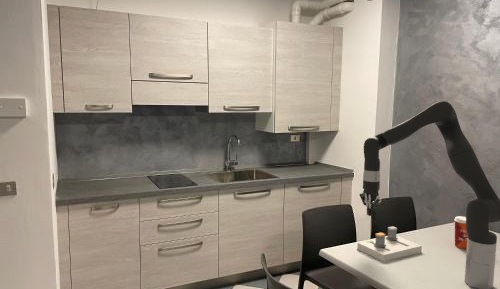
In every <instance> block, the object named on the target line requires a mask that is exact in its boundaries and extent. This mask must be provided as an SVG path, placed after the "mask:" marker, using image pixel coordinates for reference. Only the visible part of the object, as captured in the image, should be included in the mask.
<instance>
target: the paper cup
mask: <svg viewBox="0 0 500 289" xmlns="http://www.w3.org/2000/svg"><path fill="white" fill-rule="evenodd" d="M467 239H468V234H467V231H466V216H462V215H461V216H459V215H458V216H455V217H454V246H455V247H456V248H458V249H463V250H467Z"/></svg>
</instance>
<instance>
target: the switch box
mask: <svg viewBox="0 0 500 289" xmlns="http://www.w3.org/2000/svg"><path fill="white" fill-rule="evenodd" d="M386 237H388V235H386V236H385V245H386V246H384V247H380V248H379V247H376V246H374V244H375V243H376V238H372V239H368V240H364V241H358V242H357V250H359V251H361V252H363V253H366V254H367V255H369V256H371V257H373V258H375V259H377V260H379V261H381V262H387V261H392V260H395V259H396V260H397V259H399V258H404V257H408V256H412V255H415V254H419V253H422V251H423V250H422V248H423V246H422V245H421V244H417V243H416V242H413V241H412V240H411V241H410V240H408V239H406V238H403V237H401V236H397V235H396V237H397V238H398V239H396V240H392V241H391V240H388V239H386Z"/></svg>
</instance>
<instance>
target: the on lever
mask: <svg viewBox="0 0 500 289" xmlns="http://www.w3.org/2000/svg"><path fill="white" fill-rule="evenodd" d="M397 231H398V228H397V227H395V226H393V225H392V226H388V227H387V236H388V237H387V236H385V237H386V239H388V240H391V241H392V240H396V239H398V238H397V237H396V236H397Z"/></svg>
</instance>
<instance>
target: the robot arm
mask: <svg viewBox="0 0 500 289" xmlns="http://www.w3.org/2000/svg"><path fill="white" fill-rule="evenodd" d="M456 112H457V111H456V110H455V108H454V107H453V105H452V104H451V103H450V102H448V101H445V100H440V101H437V102H435V103H433V104H431V105H430V106H428V107H427V108H425V109H423V110H422V111H421V112H419V113H417V114H415V115H414V116H412V117H411V118H409V119H407V120H405V121H404V122H402V123H400V124H397V125H395V126H392V127H390V128H388V129H386V130H385V131H383V132H381V133H378V134H376V135H373V136H371V137H368V138H367V139H365V141H364V142H363V157H364V163H363V165H364V166H363V173H362V174H363V176H362V189H363V191H362V193H359V197H360V199H361V202H362V204H363V206H365V207H366V216H369V217H372V216H374V209H375V208H378V207H379V206H380V204H382V202H383V199H382V198H381V197H380V194H379V191H380V185H381V184H380V183H381V159H380V150H383V149H384V148H387V147H388V146H391V145H395V144H397V143H399V142H401V141H404V140H406V139H407V138H410V137H411V136H412V135H414V134H415V133H416V132H418V131H419V130H420V129H422V128H424V127H426V126H428V125H431V124H435V125H436V127H437V128H438V130H439V132H440V133H441V136H442V138H443V139H444V144H445V149H446V153H447V156H448V160H449V163H450V165H451V166H452V168H453V171H455V174H457V176H459V177H460V178H461V180H463V181H464V182H465V183H466V184H467V185H468V186H470V188H471V190H472V191H473V193H474V194H475V196H476V198H473V199H471V200H469V201H468V202H467V205H466V208H465V210H466V211H465V217H466V231H467V234H468V239H467V249H466V255H465V257H466V258H465V266H464V267H465V268H464V269H465V270H464V282H465V284H467V285H468V287H469V288H474V289H493V288H494V282H495V280H494V279H495V268H496V267H495V266H496V252H497V242H498V236H497V235H496V233H494V232H492V231H490V230H489V229H490V228H489V227H490V226H489V224H490V223H491V224H492V223H498V222H500V198H499V196H498V195H497V192H495V190H494V189H493V186H492V185H491V183H490V181H489V180H488V178H487V175H486V174H485V172H484V170H483V167H482V166H481V164H480V161H479V159H478V156H477V154H476V152H475V151H474V149H473V147H472V145H471V144H470V142H469V140H468V139H467V137H466V136H465V134H464V132H463V130H462V128H461V125H460V122H459V119H458V115H457V113H456Z"/></svg>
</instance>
